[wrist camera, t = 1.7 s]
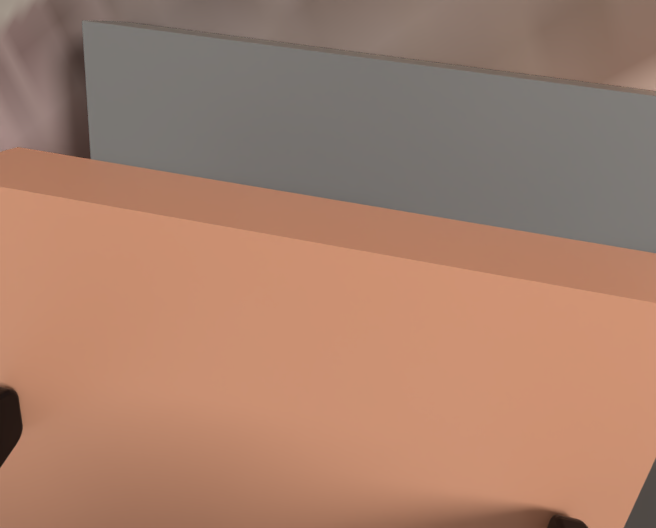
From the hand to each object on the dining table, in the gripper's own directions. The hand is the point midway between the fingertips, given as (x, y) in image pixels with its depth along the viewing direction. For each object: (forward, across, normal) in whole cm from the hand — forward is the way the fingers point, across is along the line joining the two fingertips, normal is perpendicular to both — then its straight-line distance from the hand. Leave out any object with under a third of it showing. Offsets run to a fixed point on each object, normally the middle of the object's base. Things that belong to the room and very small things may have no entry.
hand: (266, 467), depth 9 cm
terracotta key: (+4, 0, 0) cm, 4 cm away
